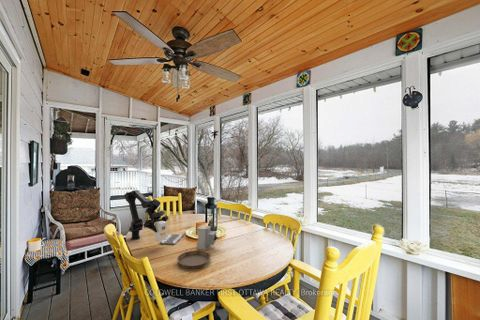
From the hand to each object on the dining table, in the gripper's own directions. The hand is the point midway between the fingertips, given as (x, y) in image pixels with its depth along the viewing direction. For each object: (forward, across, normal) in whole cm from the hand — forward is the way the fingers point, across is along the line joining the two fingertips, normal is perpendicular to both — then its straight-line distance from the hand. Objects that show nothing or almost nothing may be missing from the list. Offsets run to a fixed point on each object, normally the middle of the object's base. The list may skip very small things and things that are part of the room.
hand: (161, 230), depth 159 cm
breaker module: (+4, 0, +6) cm, 7 cm away
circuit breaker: (+29, +20, -12) cm, 37 cm away
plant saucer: (+35, -3, -18) cm, 40 cm away
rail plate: (+4, +15, +13) cm, 20 cm away
